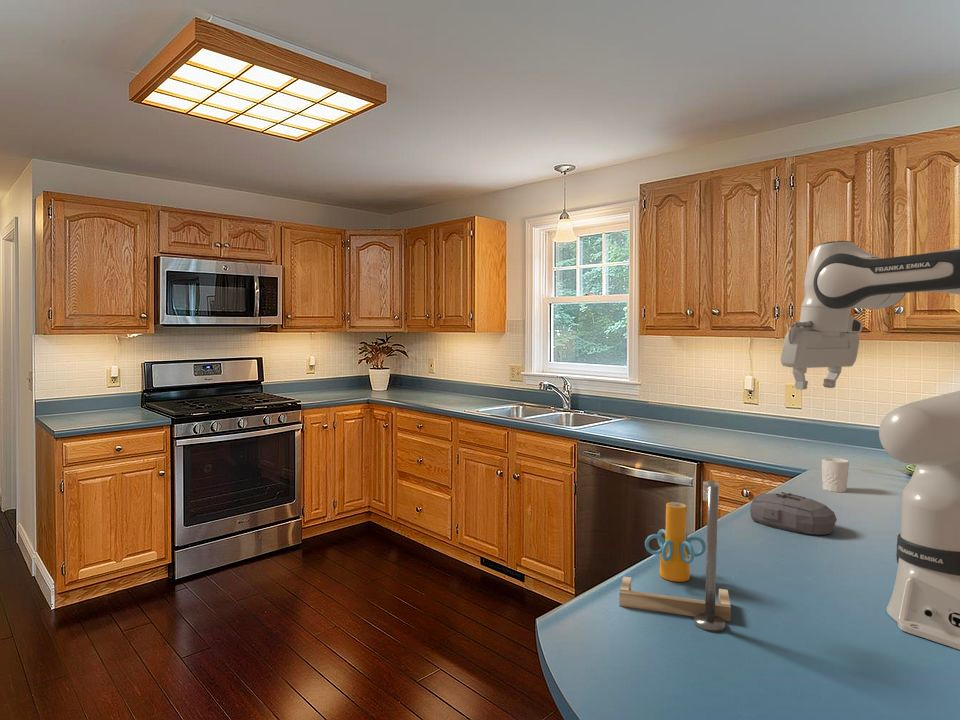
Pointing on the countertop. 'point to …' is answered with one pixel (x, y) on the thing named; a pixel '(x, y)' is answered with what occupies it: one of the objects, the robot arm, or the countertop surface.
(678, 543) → the vase
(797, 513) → the grey rounded bag
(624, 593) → the yoke
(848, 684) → the countertop surface
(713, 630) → the round-based metal post
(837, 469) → the white cup
